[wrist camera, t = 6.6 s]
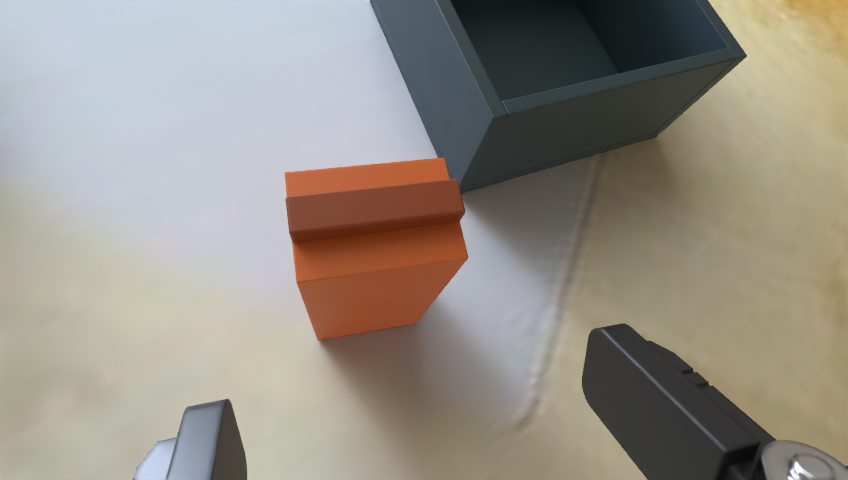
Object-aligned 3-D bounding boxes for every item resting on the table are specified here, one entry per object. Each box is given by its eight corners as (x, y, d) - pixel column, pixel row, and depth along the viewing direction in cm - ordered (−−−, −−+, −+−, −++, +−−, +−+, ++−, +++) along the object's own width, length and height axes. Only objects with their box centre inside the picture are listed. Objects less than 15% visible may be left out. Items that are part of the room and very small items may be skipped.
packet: (404, 260, 26) (449, 144, 15) (416, 323, 25) (476, 249, 13) (309, 273, 25) (280, 158, 13) (317, 340, 23) (293, 275, 12)
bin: (557, -28, 36) (610, -138, 29) (656, 136, 32) (747, 55, 25) (369, 2, 32) (377, -118, 25) (454, 195, 28) (493, 118, 20)
